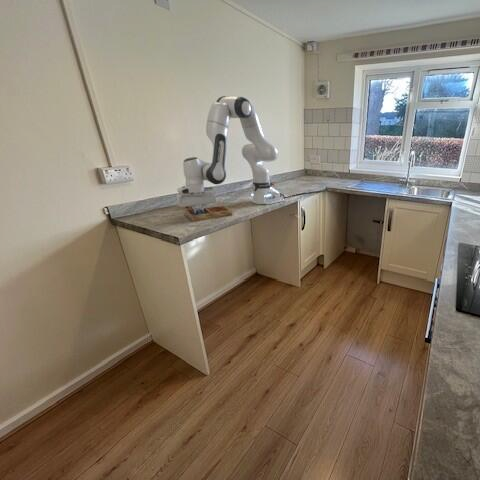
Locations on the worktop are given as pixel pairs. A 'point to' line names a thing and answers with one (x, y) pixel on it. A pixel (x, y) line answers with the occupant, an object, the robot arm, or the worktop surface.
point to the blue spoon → (198, 211)
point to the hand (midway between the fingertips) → (199, 212)
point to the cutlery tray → (209, 213)
